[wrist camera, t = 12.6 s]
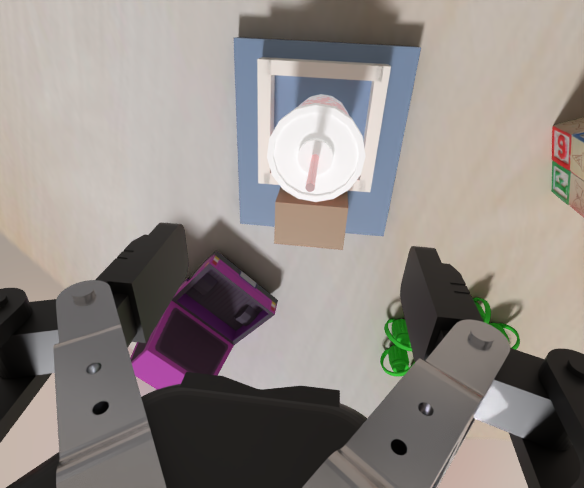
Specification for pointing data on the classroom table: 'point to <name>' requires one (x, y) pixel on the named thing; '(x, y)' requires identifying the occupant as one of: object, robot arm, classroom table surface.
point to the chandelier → (402, 344)
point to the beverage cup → (316, 150)
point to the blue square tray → (361, 108)
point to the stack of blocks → (569, 163)
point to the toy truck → (202, 324)
